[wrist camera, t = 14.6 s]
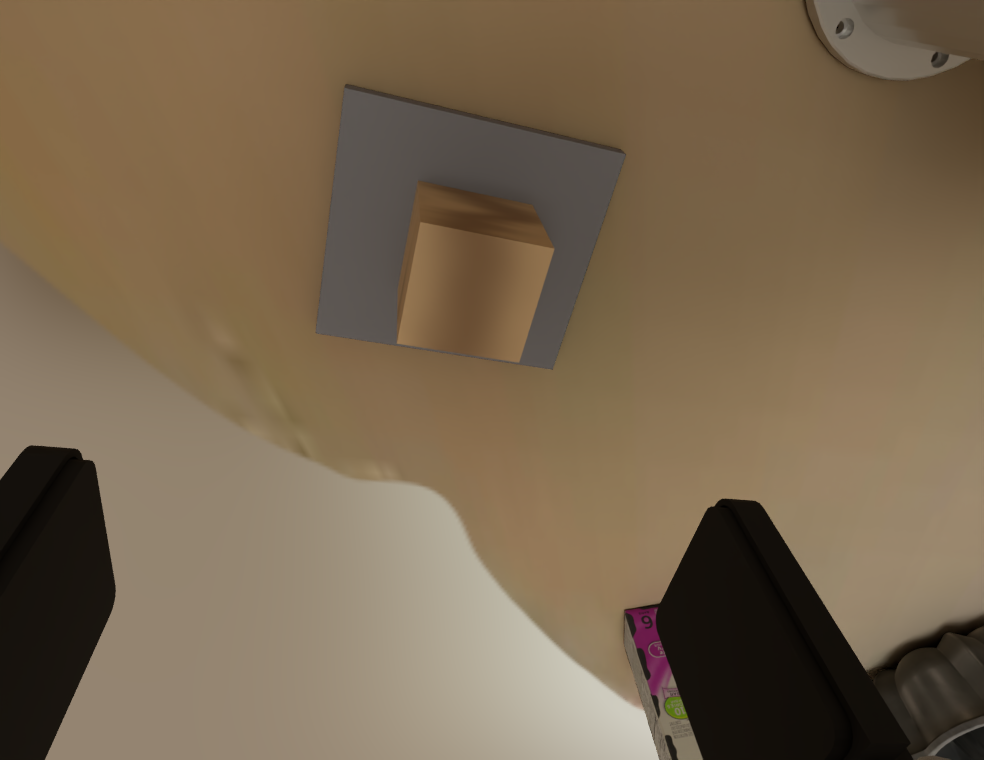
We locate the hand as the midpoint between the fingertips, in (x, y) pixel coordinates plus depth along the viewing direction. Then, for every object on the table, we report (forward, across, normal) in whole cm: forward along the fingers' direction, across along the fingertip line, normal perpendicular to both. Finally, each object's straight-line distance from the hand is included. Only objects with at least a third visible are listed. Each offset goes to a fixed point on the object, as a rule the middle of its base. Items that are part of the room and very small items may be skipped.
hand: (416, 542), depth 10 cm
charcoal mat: (+27, -3, +5) cm, 27 cm away
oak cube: (+26, -3, +5) cm, 26 cm away
